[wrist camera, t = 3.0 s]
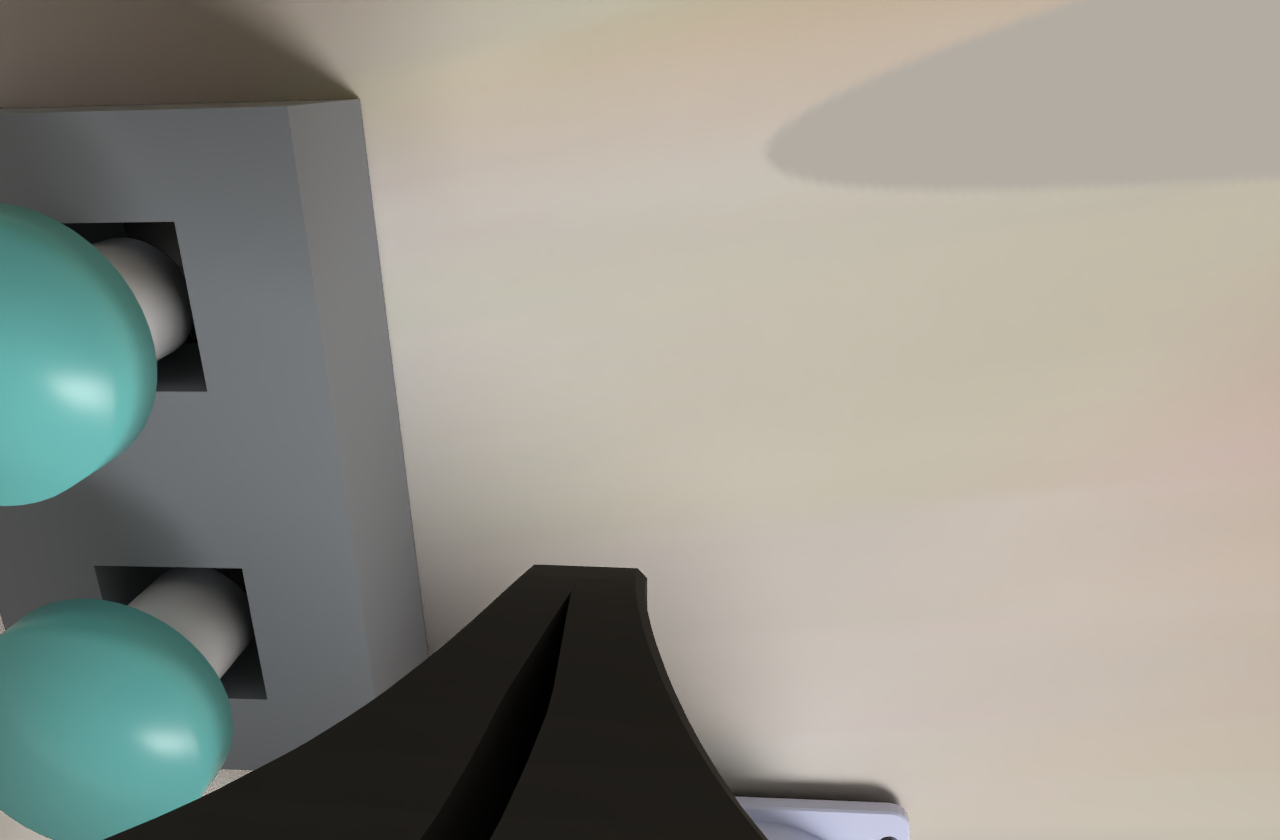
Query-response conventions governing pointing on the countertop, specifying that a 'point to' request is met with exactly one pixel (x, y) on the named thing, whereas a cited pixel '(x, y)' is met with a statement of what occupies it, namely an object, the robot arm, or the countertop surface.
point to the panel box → (240, 401)
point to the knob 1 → (77, 349)
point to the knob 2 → (118, 704)
